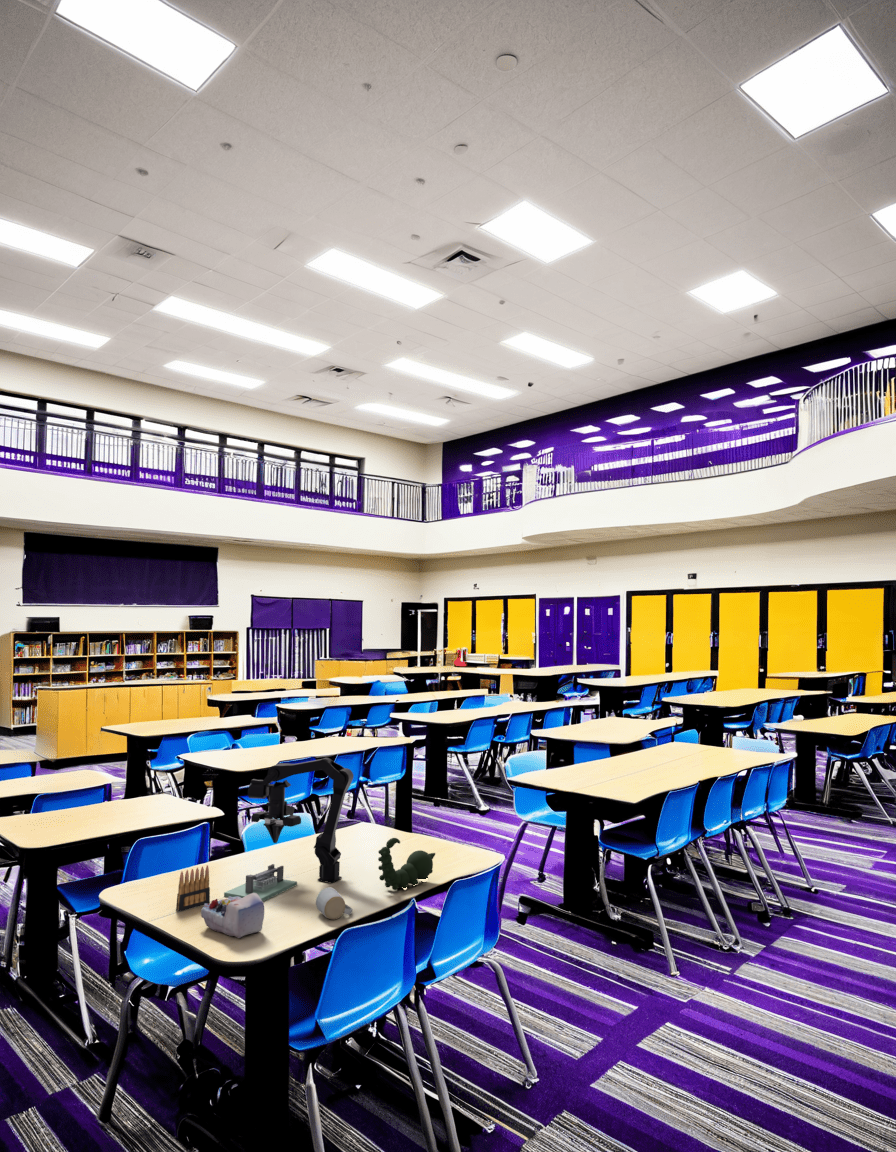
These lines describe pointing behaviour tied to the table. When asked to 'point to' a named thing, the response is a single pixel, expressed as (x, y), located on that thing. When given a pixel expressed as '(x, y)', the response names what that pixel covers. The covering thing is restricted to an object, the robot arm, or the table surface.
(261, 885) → the heatsink
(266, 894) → the board
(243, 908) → the cell model
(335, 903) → the ceramic mug
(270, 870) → the strap
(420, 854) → the toy figurine
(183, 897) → the ammunition clip
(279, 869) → the pivot mount
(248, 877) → the lug
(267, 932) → the table surface
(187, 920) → the table surface
